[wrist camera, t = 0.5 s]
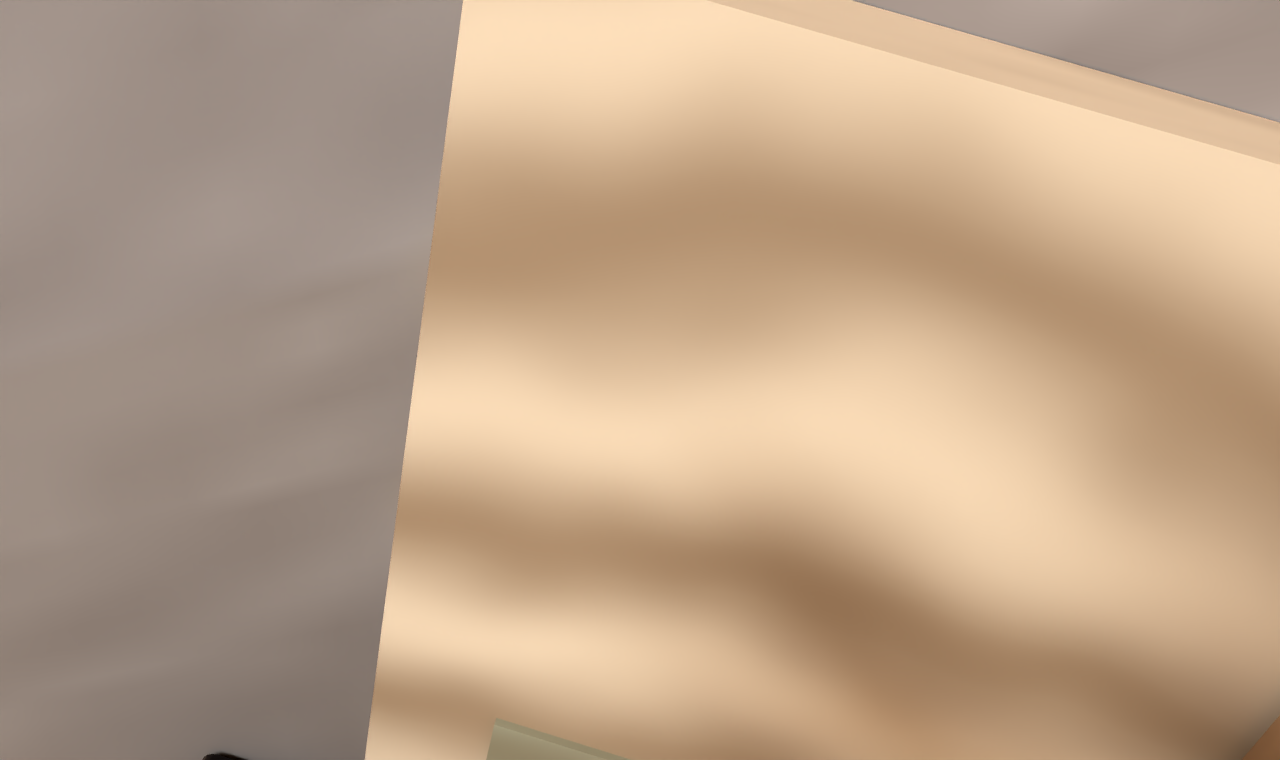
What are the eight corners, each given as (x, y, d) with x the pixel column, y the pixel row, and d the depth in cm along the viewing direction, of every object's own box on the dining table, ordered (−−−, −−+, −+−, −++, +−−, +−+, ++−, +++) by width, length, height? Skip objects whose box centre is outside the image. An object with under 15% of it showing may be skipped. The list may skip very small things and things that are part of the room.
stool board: (1233, 1017, 32) (1252, 1103, 30) (385, 751, 33) (354, 819, 31) (1982, 322, 18) (2096, 403, 17) (510, -98, 19) (467, -64, 17)
